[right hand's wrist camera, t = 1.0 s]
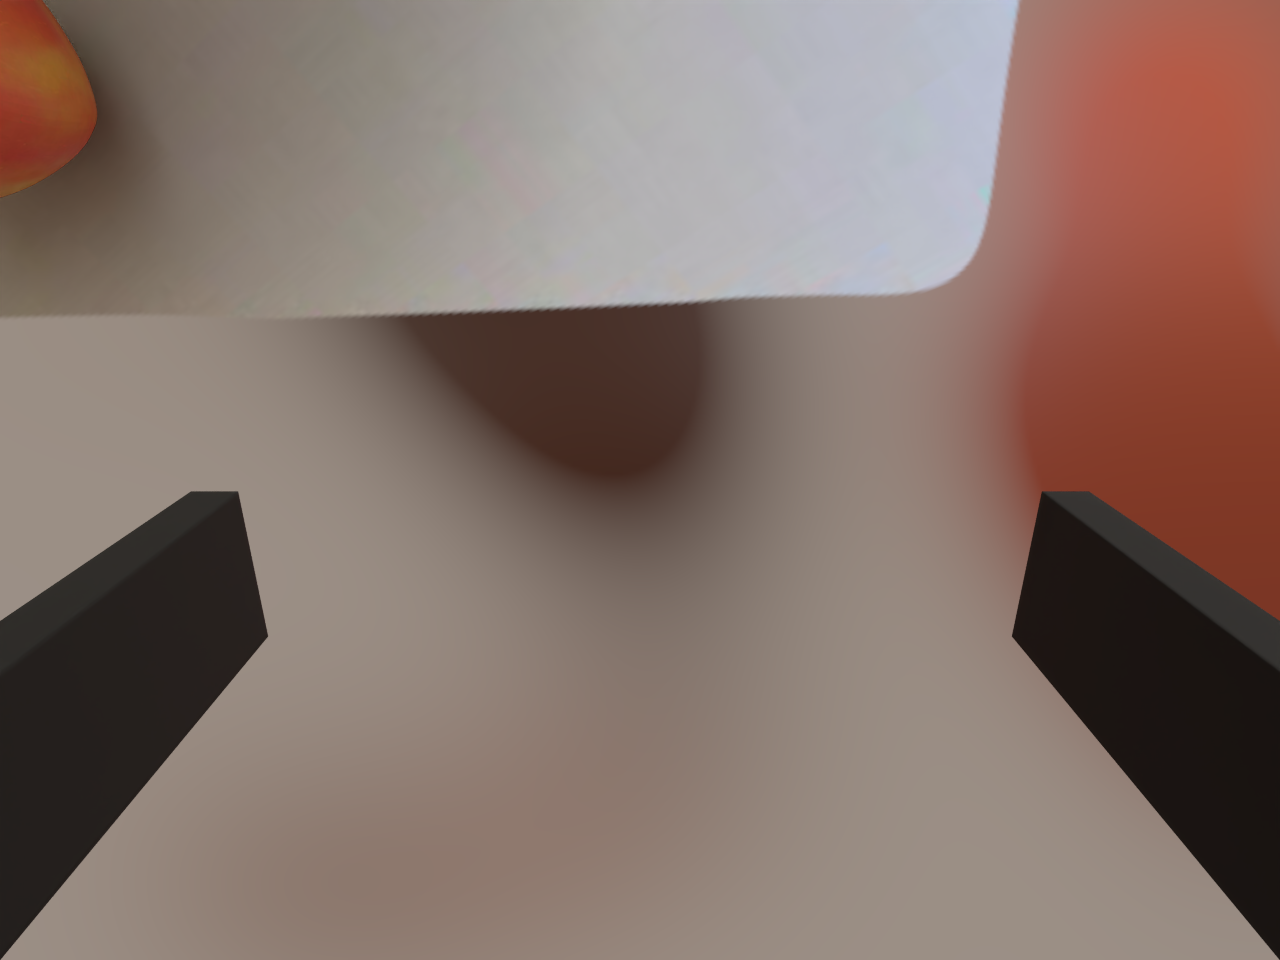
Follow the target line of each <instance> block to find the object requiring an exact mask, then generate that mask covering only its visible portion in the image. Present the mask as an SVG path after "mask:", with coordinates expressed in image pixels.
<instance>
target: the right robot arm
mask: <svg viewBox="0 0 1280 960" xmlns="http://www.w3.org/2000/svg"><path fill="white" fill-rule="evenodd" d="M267 637H268V634H267V629H266V624H265V619H264V614H263V610H262V605H261V600H260V595H259V590H258V585H257V581H256V576H255V571H254V566H253V561H252V556H251V552H250V547H249V542H248V537H247V532H246V528H245V523H244V518H243V513H242V508H241V503H240V499H239V494H238V492H190V493H188V494H187V495H185V496H184V497H182V498H181V499H179V500H178V501H176V502H175V503H173V504H172V505H171V506H169V507H168V508H166V509H165V510H163V511H162V512H160V513H159V514H157V515H156V516H154V517H153V518H151V519H150V520H148V521H147V522H145V523H144V524H143V525H141V526H140V527H138V528H137V529H135V530H134V531H132V532H131V533H129V534H128V535H126V536H125V537H123V538H122V539H120V540H119V541H117V542H116V543H115V544H113V545H112V546H110V547H109V548H107V549H106V550H104V551H103V552H101V553H100V554H98V555H97V556H95V557H94V558H93V559H91V560H90V561H88V562H87V563H85V564H84V565H82V566H81V567H79V568H78V569H76V570H75V571H73V572H72V573H70V574H69V575H67V576H66V577H64V578H63V579H61V580H60V581H59V582H57V583H56V584H54V585H53V586H51V587H50V588H48V589H47V590H45V591H44V592H42V593H41V594H39V595H38V596H37V597H35V598H33V599H32V600H31V601H29V602H28V603H26V604H25V605H23V606H22V607H20V608H19V609H17V610H16V611H14V612H13V613H11V614H10V615H8V616H7V617H5V618H4V619H3V620H1V621H0V960H1V958H2V957H3V956H4V955H5V954H6V952H7V951H8V950H9V949H10V948H11V946H12V945H13V944H14V943H15V941H16V940H17V939H18V938H19V937H20V935H21V934H22V933H23V932H24V931H25V929H26V928H27V927H28V926H29V925H30V923H31V922H32V921H33V920H34V919H35V917H36V916H37V915H38V914H39V912H40V911H41V910H42V909H43V908H44V906H45V905H46V904H47V903H48V902H49V900H50V899H51V898H52V897H53V896H54V894H55V893H56V892H57V891H58V890H59V888H60V887H61V886H62V885H63V884H64V882H65V881H66V880H67V879H68V877H69V876H70V875H71V874H72V873H73V871H74V870H75V869H76V868H77V867H78V865H79V864H80V863H81V862H82V861H83V859H84V858H85V857H86V856H87V854H88V853H89V852H90V851H91V850H92V848H93V847H94V846H95V845H96V844H97V842H98V841H99V840H100V839H101V838H102V836H103V835H104V834H105V833H106V832H107V830H108V829H109V828H110V827H111V825H112V824H113V823H114V822H115V821H116V819H117V818H118V817H119V816H120V815H121V813H122V812H123V811H124V810H125V809H126V807H127V806H128V805H129V804H130V803H131V801H132V800H133V799H134V798H135V797H136V795H137V794H138V793H139V792H140V790H141V789H142V788H143V787H144V786H145V784H146V783H147V782H148V781H149V780H150V778H151V777H152V776H153V775H154V774H155V772H156V771H157V770H158V769H159V767H160V766H161V765H162V764H163V763H164V761H165V760H166V759H167V758H168V757H169V755H170V754H171V753H172V752H173V751H174V749H175V748H176V747H177V746H178V745H179V743H180V742H181V741H182V740H183V738H184V737H185V736H186V735H187V734H188V732H189V731H190V730H191V729H192V728H193V726H194V725H195V724H196V723H197V722H198V720H199V719H200V718H201V717H202V716H203V714H204V713H205V712H206V711H207V710H208V708H209V707H210V706H211V705H212V703H213V702H214V701H215V700H216V699H217V697H218V696H219V695H220V694H221V693H222V691H223V690H224V689H225V688H226V687H227V685H228V684H229V683H230V682H231V680H232V679H233V678H234V677H235V676H236V674H237V673H238V672H239V671H240V670H241V668H242V667H243V666H244V665H245V664H246V662H247V661H248V660H249V659H250V658H251V656H252V655H253V654H254V653H255V652H256V650H257V649H258V648H259V647H260V645H261V644H262V643H263V642H264V641H265V639H266V638H267ZM1012 637H1013V638H1014V639H1015V641H1016V642H1017V643H1018V644H1019V645H1020V647H1021V648H1022V649H1023V650H1024V652H1025V653H1026V654H1027V655H1028V656H1029V658H1030V659H1031V660H1032V661H1033V662H1034V664H1035V665H1036V666H1037V667H1038V668H1039V670H1040V671H1041V672H1042V673H1043V674H1044V676H1045V677H1046V678H1047V679H1048V681H1049V682H1050V683H1051V684H1052V685H1053V687H1054V688H1055V689H1056V690H1057V691H1058V693H1059V694H1060V695H1061V696H1062V697H1063V699H1064V700H1065V701H1066V702H1067V703H1068V705H1069V706H1070V707H1071V708H1072V710H1073V711H1074V712H1075V713H1076V714H1077V716H1078V717H1079V718H1080V719H1081V720H1082V722H1083V723H1084V724H1085V725H1086V726H1087V728H1088V729H1089V730H1090V731H1091V732H1092V734H1093V735H1094V736H1095V737H1096V739H1097V740H1098V741H1099V742H1100V743H1101V745H1102V746H1103V747H1104V748H1105V749H1106V751H1107V752H1108V753H1109V754H1110V755H1111V757H1112V758H1113V759H1114V760H1115V761H1116V763H1117V764H1118V765H1119V766H1120V768H1121V769H1122V770H1123V771H1124V772H1125V774H1126V775H1127V776H1128V777H1129V778H1130V780H1131V781H1132V782H1133V783H1134V784H1135V786H1136V787H1137V788H1138V789H1139V790H1140V792H1141V793H1142V794H1143V795H1144V797H1145V798H1146V799H1147V800H1148V801H1149V803H1150V804H1151V805H1152V806H1153V807H1154V809H1155V810H1156V811H1157V812H1158V813H1159V815H1160V816H1161V817H1162V818H1163V819H1164V821H1165V822H1166V823H1167V824H1168V826H1169V827H1170V828H1171V829H1172V830H1173V832H1174V833H1175V834H1176V835H1177V836H1178V838H1179V839H1180V840H1181V841H1182V842H1183V844H1184V845H1185V846H1186V847H1187V848H1188V850H1189V851H1190V852H1191V853H1192V855H1193V856H1194V857H1195V858H1196V859H1197V861H1198V862H1199V863H1200V864H1201V865H1202V867H1203V868H1204V869H1205V870H1206V871H1207V873H1208V874H1209V875H1210V876H1211V877H1212V879H1213V880H1214V881H1215V882H1216V883H1217V885H1218V886H1219V887H1220V888H1221V890H1222V891H1223V892H1224V893H1225V894H1226V896H1227V897H1228V898H1229V899H1230V900H1231V902H1232V903H1233V904H1234V905H1235V906H1236V908H1237V909H1238V910H1239V911H1240V913H1241V914H1242V915H1243V916H1244V917H1245V919H1246V920H1247V921H1248V922H1249V923H1250V925H1251V926H1252V927H1253V928H1254V929H1255V931H1256V932H1257V933H1258V934H1259V935H1260V937H1261V938H1262V939H1263V940H1264V941H1265V943H1266V944H1267V945H1268V946H1269V948H1270V949H1271V950H1272V951H1273V952H1274V954H1275V955H1276V956H1277V957H1278V958H1279V960H1280V621H1279V620H1277V619H1276V618H1275V617H1273V616H1272V615H1270V614H1269V613H1267V612H1266V611H1264V610H1263V609H1261V608H1260V607H1258V606H1257V605H1255V604H1254V603H1252V602H1251V601H1249V600H1248V599H1247V598H1245V597H1244V596H1242V595H1241V594H1239V593H1238V592H1236V591H1235V590H1233V589H1232V588H1230V587H1229V586H1227V585H1226V584H1224V583H1223V582H1221V581H1220V580H1218V579H1217V578H1216V577H1214V576H1213V575H1211V574H1210V573H1208V572H1207V571H1205V570H1204V569H1202V568H1201V567H1199V566H1198V565H1196V564H1195V563H1193V562H1192V561H1191V560H1189V559H1188V558H1186V557H1185V556H1183V555H1182V554H1180V553H1179V552H1177V551H1176V550H1174V549H1173V548H1171V547H1170V546H1168V545H1167V544H1165V543H1164V542H1163V541H1161V540H1160V539H1158V538H1157V537H1155V536H1154V535H1152V534H1151V533H1149V532H1148V531H1146V530H1145V529H1143V528H1142V527H1140V526H1139V525H1137V524H1136V523H1135V522H1133V521H1131V520H1130V519H1129V518H1127V517H1126V516H1124V515H1123V514H1121V513H1120V512H1118V511H1117V510H1115V509H1114V508H1112V507H1111V506H1109V505H1108V504H1107V503H1105V502H1104V501H1102V500H1101V499H1099V498H1098V497H1096V496H1095V495H1093V494H1092V493H1090V492H1042V494H1041V499H1040V503H1039V508H1038V513H1037V518H1036V523H1035V527H1034V532H1033V537H1032V542H1031V547H1030V552H1029V557H1028V561H1027V566H1026V571H1025V576H1024V581H1023V586H1022V590H1021V595H1020V600H1019V605H1018V610H1017V614H1016V619H1015V624H1014V629H1013V634H1012Z"/></svg>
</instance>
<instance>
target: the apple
mask: <svg viewBox="0 0 1280 960" xmlns="http://www.w3.org/2000/svg"><path fill="white" fill-rule="evenodd" d="M96 121H97V109H96V103H95V99H94V95H93V92H92V88H91V86H90V83H89V80H88V77H87V75H86V72H85V70H84V68H83V65H82V63H81V61H80V59H79V57H78V55H77V54H76V52H75V50H74V48H73V46H72V45H71V43H70V41H69V40H68V38H67V36H66V35H65V33H64V31H63V30H62V28H61V27H60V25H59V24H58V22H57V20H56V19H55V18H54V16H53V15H52V13H51V12H50V10H49V9H48V7H47V6H46V5H45V3H44V2H43V1H42V0H0V198H1V197H4V196H7V195H10V194H13V193H16V192H18V191H21V190H23V189H26V188H28V187H30V186H32V185H34V184H36V183H38V182H39V181H41V180H43V179H45V178H46V177H48V176H50V175H51V174H53V173H54V172H56V171H57V170H59V169H60V168H61V167H63V166H64V165H65V164H67V163H68V162H69V161H70V160H71V159H73V158H74V157H75V156H76V155H77V154H78V153H79V152H80V150H81V149H82V148H83V147H84V146H85V144H86V143H87V142H88V140H89V138H90V136H91V134H92V132H93V130H94V127H95V125H96Z"/></svg>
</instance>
